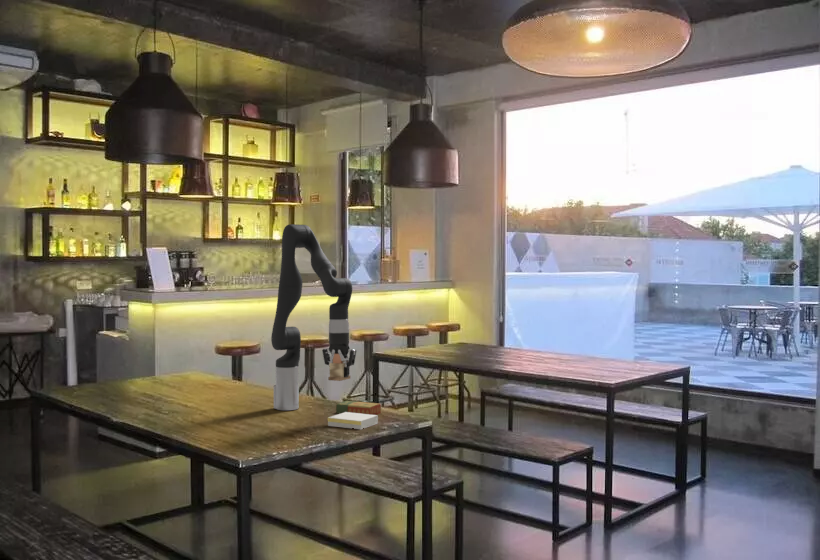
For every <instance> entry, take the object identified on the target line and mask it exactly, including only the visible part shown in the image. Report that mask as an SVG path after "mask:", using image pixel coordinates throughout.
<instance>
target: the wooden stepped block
mask: <svg viewBox="0 0 820 560" xmlns="http://www.w3.org/2000/svg"><path fill="white" fill-rule="evenodd" d="M350 379H351V375H350V374H349V376H348V377H344V364H343V363H330V367H329V376H328V381H334V382H335V381H337V382H341V381H345V380H350Z"/></svg>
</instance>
